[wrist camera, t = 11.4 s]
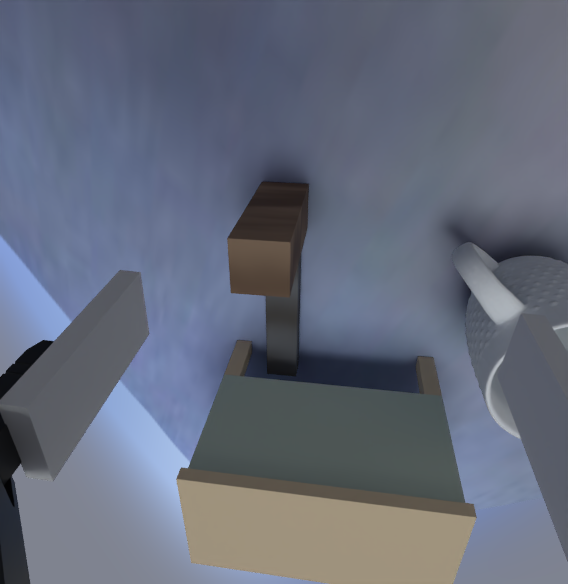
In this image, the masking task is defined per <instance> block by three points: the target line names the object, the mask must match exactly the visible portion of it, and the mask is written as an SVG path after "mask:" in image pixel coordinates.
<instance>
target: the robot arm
mask: <svg viewBox="0 0 568 584" xmlns="http://www.w3.org/2000/svg"><path fill="white" fill-rule="evenodd" d="M148 335H149V328H148V321H147V315H146V308H145V301H144V294H143V287H142V280H141V273H140V272H133V271H123V270H120V271H119V272H118V273H117V274H116V275H115V276H114V277H113V278H112V279H111V280H110V282H109V283H108V284H107V285H106V286H105V287H104V288H103V289H102V290H101V291H100V292H99V293H98V294H97V296H96V297H95V298H94V299H93V300H92V301H91V302H90V303H89V304H88V305H87V306H86V307H85V309H84V310H83V311H82V312H81V313H80V314H79V315H78V316H77V317H76V318H75V319H74V320H73V322H72V323H71V324H70V325H69V326H68V327H67V328H66V329H65V330H64V331H63V333H61V335H60V336H59V337H58V338H57V339H56V340H55V341H47V340H43V341H41V342H39V343H37V344H36V345H34V346H32V347H31V348H29V349H27V350H26V351H25V352H24V353H23V354H22V355H21V356H20V357H19V358H18V359H17V360H16V361H15V364H12V365H11V366H10V367H9V368H8V369H7V370H6V373H5V374H2V376H1V377H0V584H30V579H29V572H28V566H27V560H26V553H25V547H24V540H23V534H22V527H21V521H20V515H19V508H18V502H17V495H16V488H15V482H14V480H13V478H12V474H13V473H14V472H15V470H16V469H17V468H18V466H19V465H20V464H21V465H22V467H23V470H24V472H25V475H26V477H28V478H35V479H41V480H47V481H54V480H55V478H56V476H57V475H58V473H59V472H60V470H61V469H62V467H63V466H64V464H65V463H66V461H67V460H68V458H69V457H70V455H71V453H72V452H73V450H74V449H75V447H76V446H77V444H78V442H79V441H80V440H81V438H82V437H83V435H84V433H85V432H86V430H87V429H88V427H89V425H90V424H91V423H92V421H93V420H94V418H95V417H96V415H97V413H98V412H99V410H100V409H101V407H102V406H103V404H104V403H105V401H106V400H107V398H108V396H109V395H110V393H111V392H112V390H113V389H114V387H115V386H116V384H117V383H118V381H119V380H120V378H121V377H122V375H123V373H124V372H125V370H126V369H127V367H128V366H129V364H130V363H131V361H132V360H133V358H134V357H135V355H136V354H137V352H138V350H139V349H140V347H141V346H142V344H143V343H144V341H145V340H146V338H147V337H148ZM497 377H498V379H499V382H500V385H501V387H502V390H503V393H504V395H505V398H506V400H507V403H508V406H509V408H510V411H511V414H512V416H513V419H514V422H515V424H516V427H517V429H518V432H519V435H520V437H521V440H522V443H523V445H524V448H525V451H526V453H527V456H528V458H529V461H530V464H531V466H532V469H533V472H534V474H535V477H536V480H537V482H538V485H539V487H540V490H541V493H542V495H543V498H544V501H545V503H546V506H547V509H548V511H549V514H550V516H551V519H552V522H553V524H554V527H555V530H556V532H557V535H558V538H559V540H560V543H561V545H562V548H563V551H564V553H565V556H566V559H567V561H568V352H567V350H566V349H565V347H564V346H563V344H562V342H561V341H560V339H559V337H558V336H557V334H556V333H555V331H554V329H553V328H552V326H551V324H550V323H549V321H548V319H547V318H546V316H544V315H534V314H525V313H521V314H520V317H519V320H518V322H517V325H516V327H515V330H514V333H513V335H512V338H511V341H510V343H509V346H508V348H507V351H506V354H505V356H504V359H503V362H502V364H501V367H500V369H499V372H498V375H497Z"/></svg>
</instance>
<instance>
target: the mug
mask: <svg viewBox="0 0 568 584" xmlns="http://www.w3.org/2000/svg"><path fill="white" fill-rule="evenodd" d="M452 261H453V263H454V265H455V267H456V269H457V270H458V272H459V274H460V275H461V277H462V278H463V279H464V281H465V282H466V284H467V285H468V287H469V288H470V290H471V296H470V298H469V300H468V305H467V307H466V309H467V312H466V322H465V326H466V337H467V345H468V348H469V355H470V357H471V363H472V366H473V368H474V371H475V376H476V378H477V380H478V383H479V387H480V389H481V391H482V394H483V397H484V400H485V403H486V405H487V408H488V410H489V412H490V414H491V416H492V417H493V419H494V420H495V421H496V422H497V423H498V424H499V425H500V426H501V427H502V428H503V429H504V430H506V431H507V432H509V433H510V434H512V435H514V436H515V437H517V438H520V439H521V437H520V435H519V432H518V429H517V427H516V424H515V422H514V419H513V416H512V414H511V411H510V408H509V406H508V403H507V400H506V398H505V395H504V393H503V390H502V387H501V385H500V382H499V379H498V377H497V375H498V372H499V369H500V367H501V364H502V362H503V359H504V356H505V354H506V351H507V348H508V346H509V343H510V341H511V338H512V335H513V333H514V330H515V327H516V325H517V322H518V320H519V317H520V314H521V313H525V314H534V315H544V316H546V318H547V319H548V321H549V323H550V324H551V326H552V328H553V329H554V331H555V333H556V334H557V336H558V337H559V339H560V341H561V342H562V344H563V346H564V347H565V349H566V350H567V352H568V264H567V263H564V262H562V261H560V260H555V259H552V258H550V257H543V256H530V255H529V256H519V257H513V258H509V259H506V260H504V261H501V262H499V263H497V262H496V261H495V260H494V259H493V258H491V257H490V256H489V255H488V254H487V253H486V252H485V251H483V250H482V249H480V248H479V247H478V246H476V245H475V244H473V243H471V242H467V243H464V244H462V245H461V246H459V247H458V248H456V249H455V251H454V252H453V253H452Z"/></svg>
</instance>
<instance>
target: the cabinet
mask: <svg viewBox="0 0 568 584" xmlns="http://www.w3.org/2000/svg"><path fill="white" fill-rule="evenodd" d="M251 354H252V343H251V341H242V340H237V343H236V345H235V348H234V350H233V353H232V356H231V358H230V361H229V363H228V366H227V369H226V371H225V374H224V376H223V379H222V382H221V384H220V387H219V389H218V392H217V395H216V397H215V400H214V402H213V405H212V408H211V410H210V413H209V415H208V418H207V421H206V423H205V426H204V428H203V431H202V434H201V436H200V439H199V441H198V444H197V447H196V449H195V452H194V454H193V457H192V460H191V462H190V465H189V467H188V468H181V469H180V471H179V474H178V476H177V479H176V480H177V485H178V491H179V496H180V502H181V508H182V513H183V518H184V524H185V530H186V535H187V541H188V546H189V552H190V558H191V563H196V564H203V565H209V566H216V567H222V568H229V569H236V570H243V571H250V572H255V573H262V574H269V575H276V576H282V577H289V578H296V579H302V580H309V581H316V582H322V583H329V584H453V582H454V580H455V577H456V574H457V571H458V568H459V566H460V563H461V560H462V557H463V554H464V552H465V548H466V546H467V543H468V540H469V538H470V535H471V531H472V529H473V526H474V524H475V520H476V518H477V517H476V513H475V509H474V504H469V503H465V499H464V495H463V490H462V486H461V481H460V477H459V472H458V468H457V463H456V458H455V454H454V449H453V445H452V440H451V436H450V431H449V427H448V422H447V417H446V413H445V408H444V404H443V399H442V395H441V390H440V386H439V381H438V377H437V372H436V367H435V363H434V358H433V357H422V356H418V358H417V363H416V373H417V379H418V385H419V391H420V394H418V393H407V392H397V391H387V390H377V389H367V388H357V387H346V386H336V385H326V384H316V383H306V382H296V381H285V380H275V379H265V378H255V377H245V376H244V375H245V372H246V369H247V366H248V363H249V360H250V357H251Z"/></svg>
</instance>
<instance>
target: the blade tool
mask: <svg viewBox="0 0 568 584" xmlns="http://www.w3.org/2000/svg"><path fill="white" fill-rule="evenodd" d="M308 193H309V184H300V183H279V182H262V183H261V184H260V186H259V188H258V189H257V191H256V192H255V194H254V196H253V197H252V199H251V201H250V202H249V204H248V206H247V207H246V209H245V210H244V212H243V214H242V215H241V217H240V219H239V220H238V222H237V224H236V225H235V227H234V228H233V230H232V232H231V233H230V235H229V237H228V238H227V240H228V255H229V271H230V286H231V293H237V294H250V295H263V296H266V333H267V374H277V375H287V376H296V374H297V369H298V360H299V319H300V279H301V251H302V247H303V243H304V239H305V236H306V232H307V225H308Z"/></svg>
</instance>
